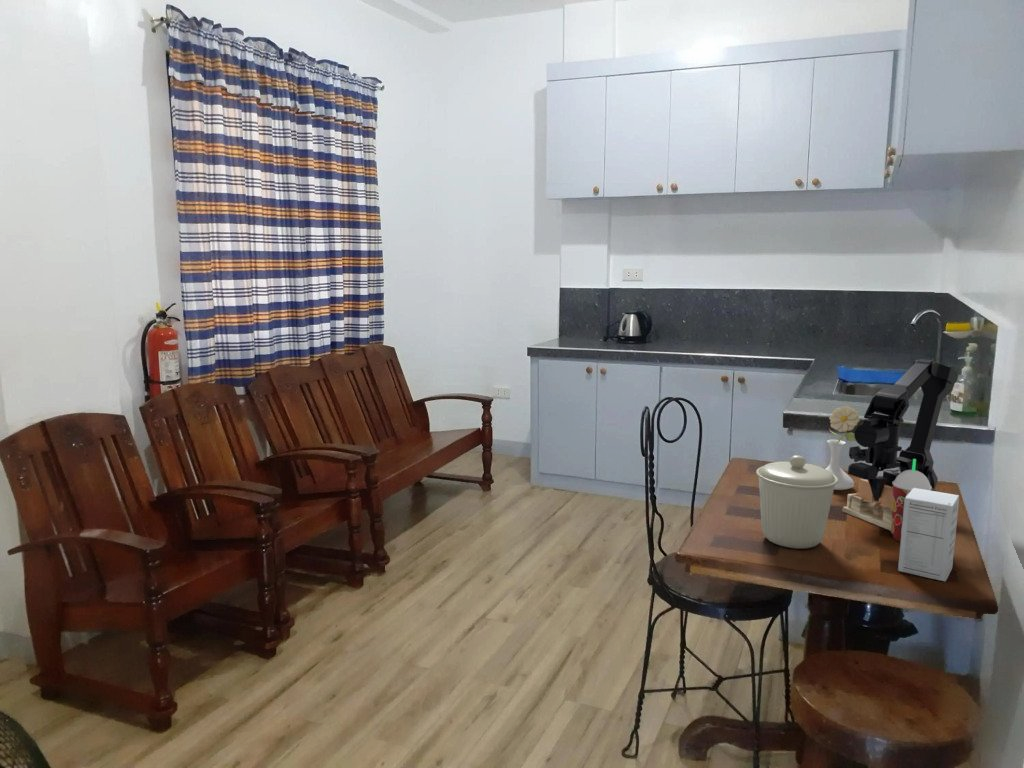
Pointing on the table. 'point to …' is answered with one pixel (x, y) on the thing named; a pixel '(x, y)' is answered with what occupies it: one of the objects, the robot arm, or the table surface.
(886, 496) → the tapered tan board
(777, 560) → the table surface
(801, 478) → the canister
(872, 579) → the table surface
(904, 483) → the smoothie
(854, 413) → the flower in vase
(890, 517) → the display stand
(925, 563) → the supplement box
